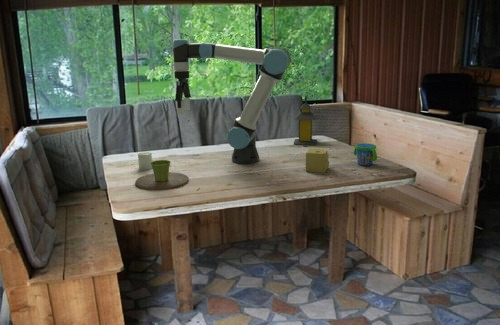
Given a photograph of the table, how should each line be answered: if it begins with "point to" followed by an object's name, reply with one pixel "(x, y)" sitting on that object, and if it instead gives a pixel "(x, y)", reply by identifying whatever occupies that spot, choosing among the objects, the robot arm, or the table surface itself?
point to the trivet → (172, 182)
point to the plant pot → (161, 170)
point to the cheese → (317, 160)
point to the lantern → (305, 125)
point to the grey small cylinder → (145, 161)
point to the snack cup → (365, 153)
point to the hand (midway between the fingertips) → (183, 112)
